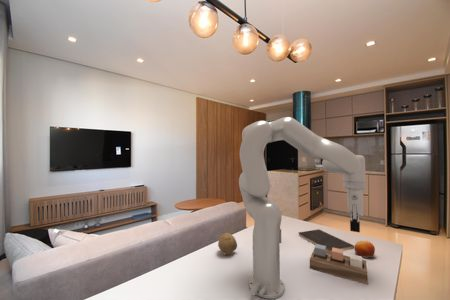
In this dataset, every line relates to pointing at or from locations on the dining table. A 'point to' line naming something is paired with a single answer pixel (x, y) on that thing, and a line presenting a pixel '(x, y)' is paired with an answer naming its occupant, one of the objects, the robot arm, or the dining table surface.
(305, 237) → the hardcover book
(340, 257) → the terracotta key
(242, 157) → the robot arm
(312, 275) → the dining table surface
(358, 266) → the cream key
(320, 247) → the slate key
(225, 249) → the natural sponge
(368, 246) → the fruit
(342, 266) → the wooden key base
